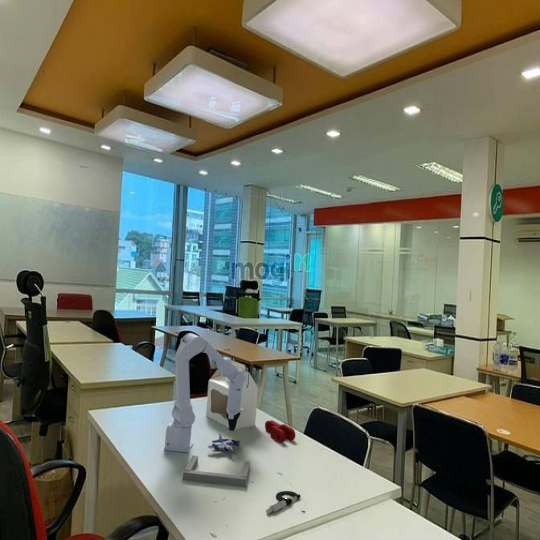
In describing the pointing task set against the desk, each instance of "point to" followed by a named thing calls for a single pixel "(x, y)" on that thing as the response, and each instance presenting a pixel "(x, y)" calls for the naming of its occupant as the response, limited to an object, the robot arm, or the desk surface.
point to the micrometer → (282, 501)
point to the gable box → (220, 399)
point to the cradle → (215, 475)
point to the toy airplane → (224, 444)
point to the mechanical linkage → (279, 431)
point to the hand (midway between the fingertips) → (232, 430)
